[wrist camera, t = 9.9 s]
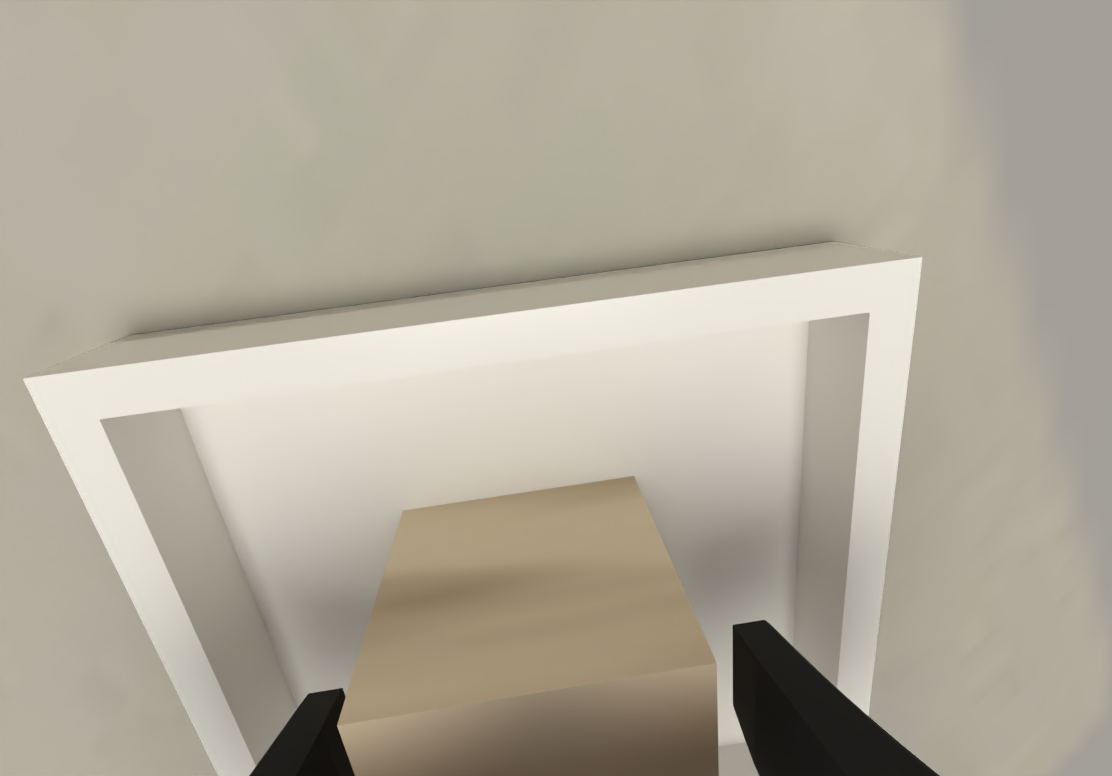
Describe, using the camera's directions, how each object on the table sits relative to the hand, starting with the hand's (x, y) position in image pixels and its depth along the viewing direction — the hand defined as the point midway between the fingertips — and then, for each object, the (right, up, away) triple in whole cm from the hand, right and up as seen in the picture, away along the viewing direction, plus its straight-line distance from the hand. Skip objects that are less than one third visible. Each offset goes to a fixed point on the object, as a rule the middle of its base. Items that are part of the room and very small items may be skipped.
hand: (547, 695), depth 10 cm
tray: (0, +1, +3) cm, 3 cm away
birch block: (0, +1, +3) cm, 3 cm away
